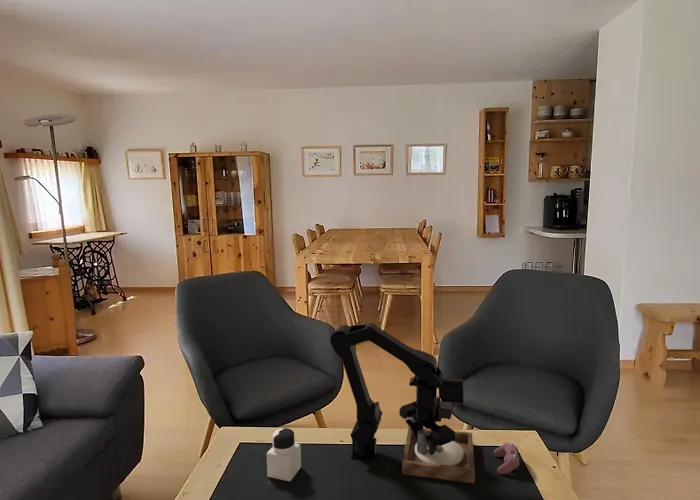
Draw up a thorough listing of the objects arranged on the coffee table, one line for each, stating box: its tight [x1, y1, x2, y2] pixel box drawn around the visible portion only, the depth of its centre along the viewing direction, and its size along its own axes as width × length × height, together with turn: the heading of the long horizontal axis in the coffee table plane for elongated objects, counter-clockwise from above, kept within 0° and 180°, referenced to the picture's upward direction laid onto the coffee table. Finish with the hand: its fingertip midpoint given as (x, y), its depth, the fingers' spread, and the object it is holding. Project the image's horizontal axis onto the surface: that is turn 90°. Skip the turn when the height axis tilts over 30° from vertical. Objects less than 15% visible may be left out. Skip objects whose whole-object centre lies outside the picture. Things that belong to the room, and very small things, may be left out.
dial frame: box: [401, 427, 476, 484], centre depth 132 cm, size 19×19×4 cm
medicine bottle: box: [266, 427, 302, 482], centre depth 126 cm, size 7×7×12 cm
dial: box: [415, 429, 464, 466], centre depth 132 cm, size 14×14×7 cm
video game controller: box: [493, 441, 520, 475], centre depth 128 cm, size 10×5×7 cm, turn 170°
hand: (425, 449), depth 131 cm, fingers open, 5 cm apart
